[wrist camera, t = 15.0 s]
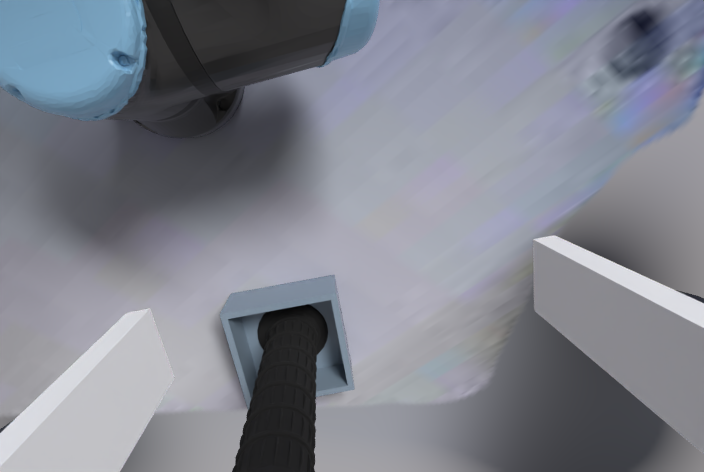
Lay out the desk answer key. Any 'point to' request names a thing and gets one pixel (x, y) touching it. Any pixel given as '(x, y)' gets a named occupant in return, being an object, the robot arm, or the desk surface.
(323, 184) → the desk surface
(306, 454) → the handle grip
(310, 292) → the box
